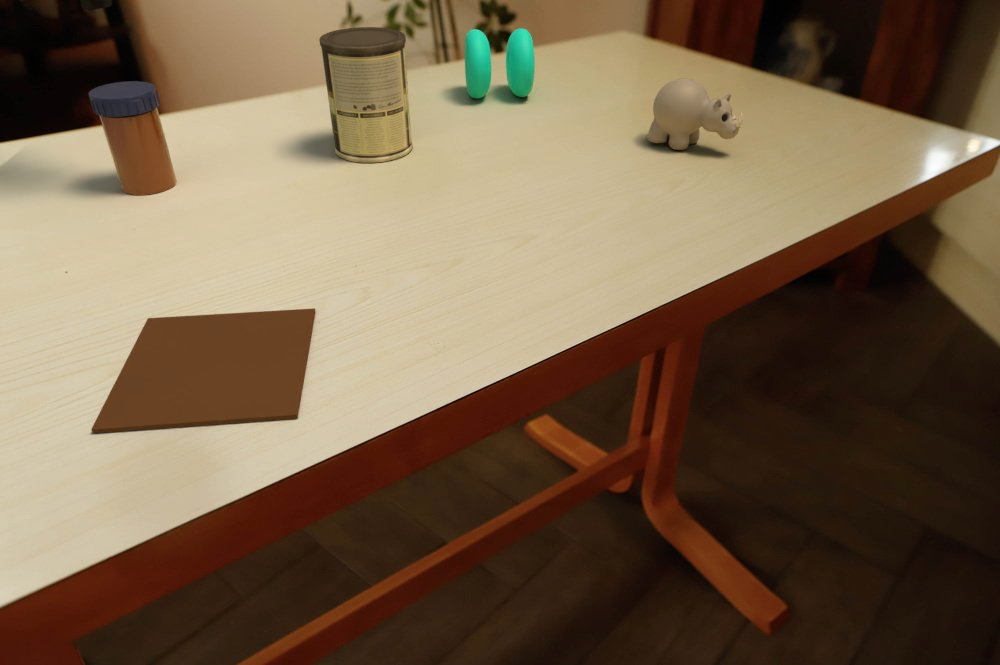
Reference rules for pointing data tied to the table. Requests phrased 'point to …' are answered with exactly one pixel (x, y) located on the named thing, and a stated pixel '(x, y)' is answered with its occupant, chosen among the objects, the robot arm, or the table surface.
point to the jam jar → (140, 152)
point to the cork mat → (211, 371)
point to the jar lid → (124, 98)
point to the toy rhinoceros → (690, 114)
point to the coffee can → (367, 93)
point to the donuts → (516, 63)
